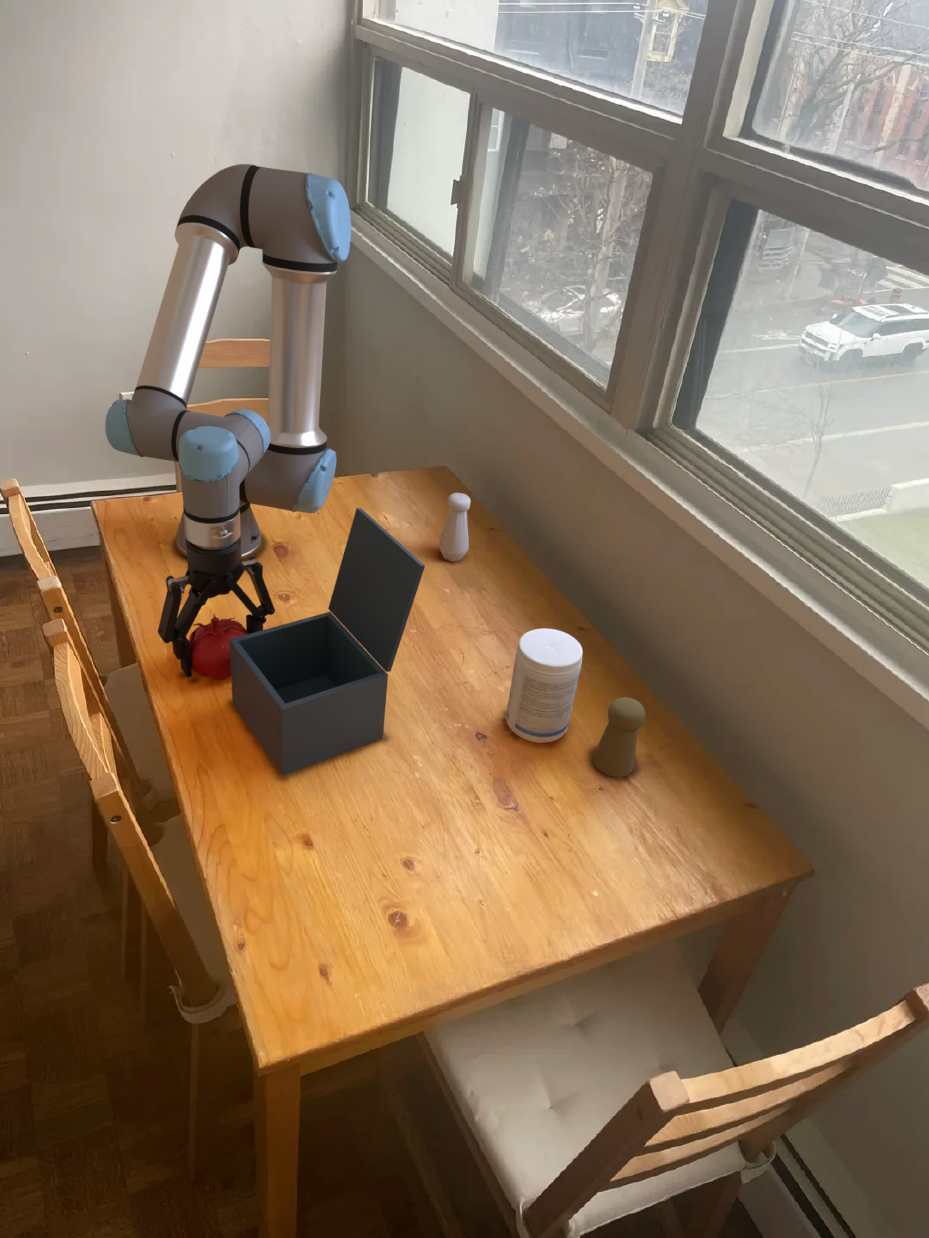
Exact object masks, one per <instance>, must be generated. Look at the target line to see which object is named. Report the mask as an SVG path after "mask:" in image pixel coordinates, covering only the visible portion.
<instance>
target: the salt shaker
mask: <svg viewBox="0 0 929 1238" xmlns="http://www.w3.org/2000/svg"><path fill="white" fill-rule="evenodd" d="M471 503H472V502H471V498H470V496H468V495H467V494H466V493H462V492H454V493H453V492H452V493H451V494H450V495H449V496H448V497H447V507H448V513H447V516H446V518H445V519H446V520H445V521H444V526H443V528H442V532H441V535H440V538H439V542H438V548H439V550H440V551H439V552H441V555H442V559H444V560H447V561H449V562H453V563H454V562H460V561H461V560H462V559H463V558H464V556H465V555H466V554H467V553H468V551H469V547H470V542H469V539H470V538H469V525H468V511H469V509H470V507H471Z"/></svg>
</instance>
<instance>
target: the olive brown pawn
mask: <svg viewBox="0 0 929 1238" xmlns="http://www.w3.org/2000/svg"><path fill="white" fill-rule="evenodd" d="M607 719H608V722H607V724H606V727H605V729H604V731H603V733H602V735H601V738H600V740H599V742H598V745H597V746H596V748H595V751H594V753H593V755H592V762H593V765H594V766H595V768H596V769H597V770H598V771H600V772H601V773H603V774H604V775H607V776H609V777H614V778H615V777H616V778H621V777H626V776H628V775H629V774H631V773H632V772H633V770H634V767H635V757H636V748H637V742H638V735H639V734H638V732H639V729H640V728H641V727H642V726H643V725H644V723H645V720H646V710H645V708H644V706H643V705H642V704H641V702H640V701H638V700H637V699H635V698H631V697H625V696H624V697H623V696H621V697H618V698H616V699H615V700H613V701H612V702H611V703H610V705H609V706H608V709H607Z"/></svg>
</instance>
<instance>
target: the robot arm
mask: <svg viewBox="0 0 929 1238" xmlns="http://www.w3.org/2000/svg"><path fill="white" fill-rule="evenodd" d="M351 218H352V217H351V209H350V205H349V199H348V196H347V192H346V191H345V189H344V187H343V185H342V184H341V182H339V181H338V180H337V179H335V178H332V177H328V176H324V175H319V174H317V173H313V172H303V171H294V170H286V169H280V168H273V167H265V166H258V165H255V164H251V163H250V164H249V163H239V164H233V165H230V166H228V167H225V168H223V169H221V170H219V171H217V172H216V173H214V174H213V175H211V176H209V178H208V179H206V180H205V181H204V182H203V183H201V184H200V186H199V187H198V188H197V189H196V190H195V191H194V192H193V194H192V195H191V196H190V198H189V199H188V200H187V202H186V204H185V205H184V207H183V209H182V211H181V213H180V215H179V218H178V220H177V224H176V226H175V231H174V239H175V242H176V243H177V245H178V246H177V249H176V252H175V256H174V259H173V263H172V266H171V269H170V273H169V276H168V279H167V283H166V286H165V289H164V292H163V295H162V296H163V297H162V299H161V303H160V306H159V309H158V312H157V315H156V319H155V323H154V326H153V329H152V332H151V335H150V340H149V342H148V345H147V349H146V352H145V355H144V359H143V361H142V362H143V363H142V365H141V368H140V372H139V375H138V378H137V381H136V385H135V388H134V390H133V394H132V397H131V399H129V398H127V399H116V400H114V401H113V402H112V404H111V406H110V407H109V408H108V409H107V413H106V415H105V422H104V432H105V436H106V440H107V442H108V443H109V445H110V446H111V448H112V449H114V450H116V451H117V452H122V453H125V454H128V455H133V456H137V457H139V458H144V457H145V458H149V459H158V460H164V461H171V462H177V463H178V464H177V465H178V468H179V469H178V470H179V472H180V473H179V475H180V485H181V494H182V504H183V505H182V509H183V511H182V514H181V518H180V521H179V524H178V527H177V531H176V537H175V539H176V548H177V550H178V551H179V552H178V553H180V554H181V555H182V556H184V557H185V558H186V562H187V569H186V572H185V574H184V575H182V576H177V577H174V576H173V575H168V576H167V577H166V578H165V585H166V594H165V599H164V604H163V606H162V611H161V615H160V620H159V625H158V627H157V628H158V629H157V634H158V635H159V637H160V639H161V640H162V641H163V643H164V644H169V643H171V644H172V645H171V647H172V653H173V654H174V656H175V658H176V659H177V660H179V662H180V664H179V665H180V669H181V670H182V672H183V673H184V675H185V677H186V678H187V679H189V678H192V677H193V669H192V666H191V653H190V642H189V638H187V636H188V634H189V632H190V630H191V628H192V626H193V624H194V622H195V620H196V618H197V617H198V615H199V613H200V610H201V609H202V607H204V606H205V605H206V603H207V602H208V600H209V599H214V598H216V597H217V596H226V595H229V594H230V593H231V592H233V594H234V595H235V596H236V597H237V598H238V600H239V601H240V602H241V603H242V604H243V606H245V608H246V609H247V610H248V611H249V612H250V613H249V614H246V615H245V629H246V630H247V631H248V633H249V634H251V633H255V632H258V631H262V630H264V624H266V623H267V618H266V616H268V615H269V616H272V615H274V614H275V613H276V608H275V606H274V603H273V600H272V598H271V595H270V592H269V591H268V587H267V585H266V582H265V580H264V577H263V573H264V572H263V571H264V566H263V564H262V563H261V561H259V560H258V558H257V557H256V556H255V555H256V554H257V553H258V552H259V551H260V549H261V548H262V533H261V529H260V526H259V524H258V521H257V520H256V516H255V514H254V511H253V509H252V506H251V505H257V506H262V507H267V508H272V509H278V510H283V511H289V512H291V513H305V514H315V513H318V512H319V511H320V510H321V509H322V508H323V507H324V505H325V503H326V501H327V500H328V496H329V494H330V491H331V488H332V485H333V482H334V478H335V474H336V469H337V461H338V459H337V452H336V451H335V450H332V448H327V447H328V446H327V443H328V435H326V433H325V432H324V431H323V430H322V429H321V428H320V426H319V425H320V411H321V410H320V409H321V393H322V392H321V391H322V376H323V375H322V374H323V373H322V372H323V356H324V355H323V353H324V338H325V318H326V303H327V302H326V301H327V300H326V299H327V283H328V281H329V280H330V279H331V278H332V277H333V276H334V275H336V273H337V272H338V263H339V264H340V263H342V262H343V263H344V262H345V261H346V260H347V259H348V256H349V254H350V249H351V245H350V244H351V241H352V219H351ZM246 247H247V248H248V247H249V248H251V249H257V250H262V252H261V253H262V255H261V256H262V258H261V260H262V261H261V263H262V266H263V267H264V268H265V269H266V270H267V271H268V272H269V274H270V277H271V290H270V291H271V293H270V294H271V295H270V326H269V327H270V329H269V330H270V331H269V332H270V333H269V364H268V365H269V366H268V368H269V369H268V373H269V374H268V399H267V400H268V401H267V402H268V404H267V422H266V421H265V420H264V418H263V417H262V416H261V415H259V414H258V413H257V412H255V411H252V410H250V409H245V408H240V409H235V410H233V411H231V412H229V413H226V414H225V415H224V416H221V415H216V414H210V413H204V412H197V411H191V410H188V404H189V401H190V397H191V393H192V390H193V386H194V383H195V380H196V376H197V373H198V369H199V366H200V363H201V359H202V356H203V352H204V349H205V345H206V342H207V339H208V337H209V336H208V335H209V332H210V330H211V326H212V322H213V319H214V315H215V312H216V308H217V305H218V301H219V299H220V295H221V291H222V288H223V285H224V281H225V278H226V275H227V271H228V267H229V266H231V265H233V264H235V263H236V262H237V260H238V258H239V255H240V251H241V250H242V249H243V248H246ZM244 573H247V576H249V577H250V580H251V582H252V586H253V588H254V590H255V593H256V596H257V598H258V601H259V603H260V605H258V606H256V604H255V603H254V601H253V600H252V599H251V598H250V597H249V596H248V594H246V592H245V590H243V589H242V587H241V586H240V585H239V584H238V582H239V580H240V579H241V577H242V576H243V575H244ZM188 585H189V586H190V588H189V590H188V593H187V595H188V596H187V598H186V600H185V602H184V604H183V605H182V607H181V604H182V595H183V594H184V593H185V589H186V586H188ZM180 608H181V610H180ZM179 611H180V612H179Z"/></svg>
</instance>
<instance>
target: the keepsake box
mask: <svg viewBox="0 0 929 1238" xmlns="http://www.w3.org/2000/svg"><path fill="white" fill-rule="evenodd" d="M230 660H231V677H230V679H231V681H230V682H231V698H232V699H231V701H232V705H233V707H234V708H235V710H236V711H237V713H238V714H239V715H240V717H241V718H242V719H243V721H244V722H245V724H246V725H247V727H248V728H249V730H250V731H251V732H252V734H253V735H254V737H255V738H256V740H257V742H258V743H259V744H260V745H261V747H262V748H263V750H264V751H265V753H266V754H267V755H268V757H269V758H270V760H271V761H272V763H273V764H274V766H275V767H276V768H277V770H278V772H279V773H280V775H282V776H283V777H284V776H286V775H289V774H292V773H294V772H297V771H300V770H302V769H305V768H309V767H310V766H313V765H315V764H318V763H320V762H324V761H326V760H329V759H331V758H334V757H337V756H340V755H342V754H344V753H347V752H351V751H353V750H356V749H358V748H361V747H364V746H366V745H369V744H372V743H374V742H377V741H379V740H383V738H384V731H385V729H384V728H385V718H386V717H385V716H386V705H387V692H388V682H389V681H388V680H389V678H388V677H389V674H388V672H386V671H385V670H384V669H383V668H382V667H381V666H380V665H379V664H378V662H377V661H376V660H375V659H374V658H373V657H372V656H371V655H370V654H369V653H368V652H367V650H366V649H365V648H364V647H363V646H362V645H361V644H360V643H359V642H358V641H357V640H356V639H355V637H354V636H353V635H352V634H351V633H350V632H349V631H348V630H347V629H346V628H345V627H344V625H343V624H342V623H341V622H340V621H339V620H338V619H337V618H336V617H335V616H334V615H333V613H332V612H331V611H327V612H323V613H318V614H316V615H312V616H308V617H305V618H301V619H298V620H295V621H290V622H288V623H284V624H280V625H277V626H273V627H270V628H265V629H263V630H262V631H258V632H255V633H251V634H247V635H244V636H240V637H237V638H233V639H230Z"/></svg>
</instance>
